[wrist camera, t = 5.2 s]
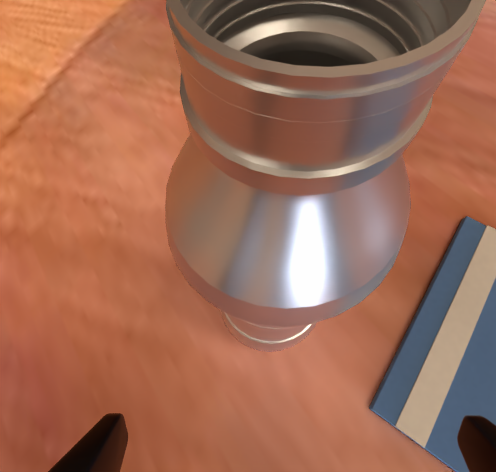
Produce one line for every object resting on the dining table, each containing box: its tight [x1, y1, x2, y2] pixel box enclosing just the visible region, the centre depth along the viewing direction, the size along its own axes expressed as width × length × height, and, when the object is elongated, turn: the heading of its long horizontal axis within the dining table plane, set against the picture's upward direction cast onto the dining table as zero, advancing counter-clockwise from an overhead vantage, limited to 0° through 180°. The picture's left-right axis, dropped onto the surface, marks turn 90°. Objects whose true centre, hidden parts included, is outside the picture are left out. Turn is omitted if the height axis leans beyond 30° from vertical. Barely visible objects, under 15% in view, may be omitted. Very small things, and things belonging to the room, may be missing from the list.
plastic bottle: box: [165, 0, 486, 352], centre depth 13 cm, size 6×7×20 cm
